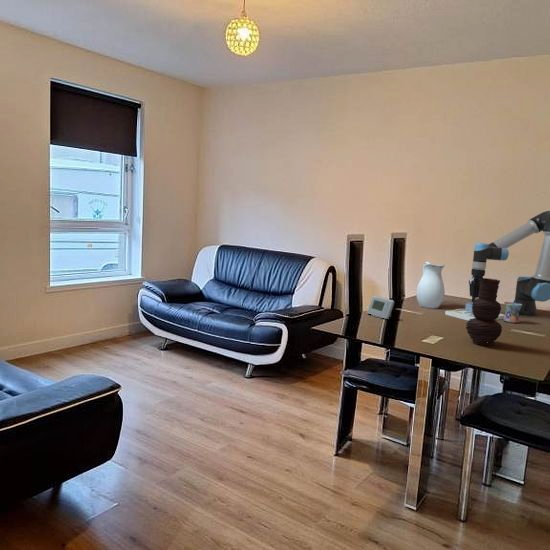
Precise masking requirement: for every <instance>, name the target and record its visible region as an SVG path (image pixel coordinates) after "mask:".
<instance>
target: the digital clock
mask: <svg viewBox="0 0 550 550" xmlns="http://www.w3.org/2000/svg"><path fill="white" fill-rule="evenodd" d="M394 305H395V301H394V300H393V299H389V298H387V297H381V296H377V295H373V296H372V297H371V300H370V301H369V305H368V308H367V310H366V313H368V314H367V315H369V314H371V315H375V316H378V317H381V318H384V319H383V320H386V319H388V320H389V319H390V318H389V317H391V318H392V311H393V309H394ZM371 315H370V316H371ZM375 316H374V317H375ZM378 317H377V318H378ZM381 318H380V319H381Z"/></svg>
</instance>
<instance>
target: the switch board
mask: <svg viewBox="0 0 550 550" xmlns="http://www.w3.org/2000/svg"><path fill="white" fill-rule="evenodd" d="M444 315H446V316H450V317H453V318H457V319H461V320H465V321H467V322H468V321H469V320H470V319H473V318H476V317H474V315H473V312H472V311H467V310H465V308H458V309H457V308H456V309H454V310H445V312H444ZM504 316H505V313H504V314H503V313H500V315H499V317H498V318H497V319H495V321H497V320H503V318H504Z"/></svg>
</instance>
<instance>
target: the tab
mask: <svg viewBox="0 0 550 550" xmlns="http://www.w3.org/2000/svg"><path fill="white" fill-rule="evenodd" d="M472 304H473V303H472V301H471V302H470V301H468V302H467V303H465V308H464V309H465V310H467V311H473V310H472V306H473V305H472Z"/></svg>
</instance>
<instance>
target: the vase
mask: <svg viewBox="0 0 550 550" xmlns="http://www.w3.org/2000/svg"><path fill="white" fill-rule="evenodd" d="M479 281H480V282H479V284H480V285H479V289H480V290H479V295H478V296H479V297H478V299H476V300H474V302H473V304H472V305H473V306H472V310H473V311H472V312H473V315H474V317H476V318H473V319H470V320H469V321H468V320H467V322H466V323H465V324H466V327H465V329H466V331H467V334H468V336H469V337H470V339H471V342H472V341H473V342H472V343H473V344H475V343H476V344H475V345H478V344H480V345H479V346H484V345H489V346H491V345H492V344H493V343H494V342H495V341H497V339H498V338H499V337H501V335H502V331H503V329H502V328H503V327H502V325H501V324H500V322H498V321H497V320H495V319H497V318H498V317H499V315H500V314H501V311H502V306H501V304H500V302H499V301H497V297H498V290H499V289H500V288H499V287H500V286H499V285H500V282H501V280H499V279H497V278H495V279H494V278H490V277H487V278H485V277H483V278H479ZM487 342H488V343H487Z"/></svg>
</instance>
